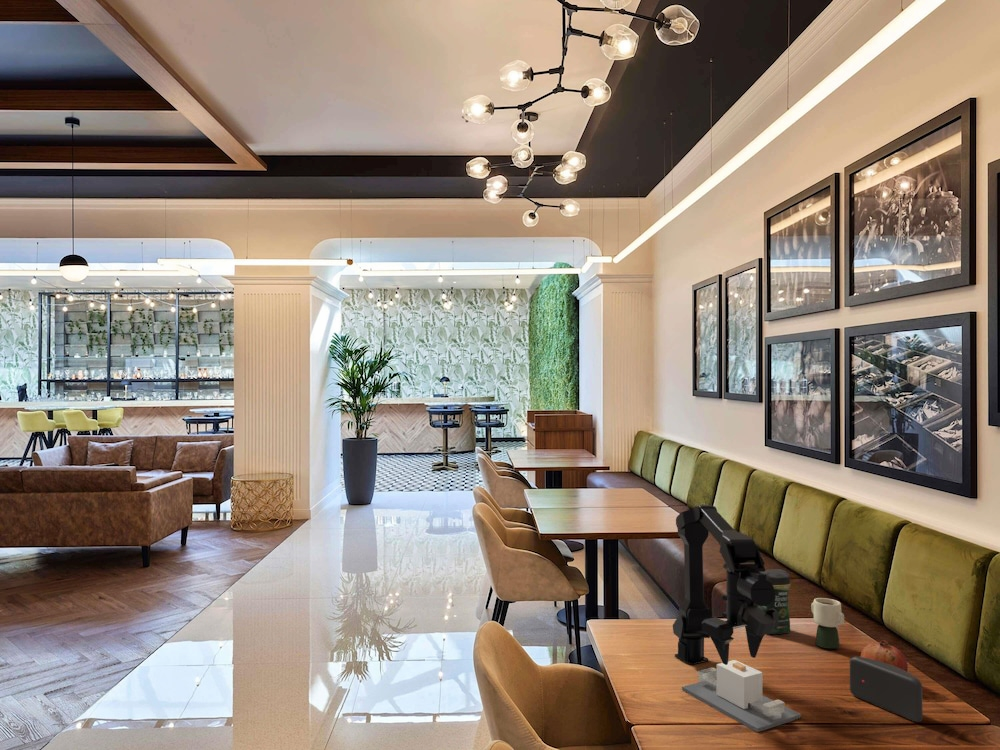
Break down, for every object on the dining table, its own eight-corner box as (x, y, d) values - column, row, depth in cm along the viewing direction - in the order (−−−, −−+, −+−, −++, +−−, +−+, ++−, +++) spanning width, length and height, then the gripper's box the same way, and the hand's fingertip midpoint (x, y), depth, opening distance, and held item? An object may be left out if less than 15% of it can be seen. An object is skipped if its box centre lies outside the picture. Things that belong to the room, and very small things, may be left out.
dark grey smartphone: (931, 721, 142) (930, 677, 142) (919, 726, 140) (919, 682, 140) (859, 691, 156) (859, 652, 156) (848, 695, 154) (847, 655, 154)
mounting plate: (723, 679, 161) (723, 675, 161) (800, 717, 142) (800, 714, 142) (682, 690, 155) (682, 686, 155) (757, 732, 135) (757, 728, 135)
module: (734, 689, 153) (734, 656, 154) (762, 703, 146) (762, 668, 147) (716, 694, 151) (716, 660, 151) (743, 709, 144) (744, 673, 144)
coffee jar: (768, 636, 192) (768, 573, 192) (751, 627, 199) (751, 567, 200) (795, 634, 194) (795, 572, 195) (777, 625, 202) (777, 565, 202)
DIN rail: (712, 680, 159) (712, 666, 159) (785, 717, 140) (785, 702, 141) (697, 683, 157) (697, 670, 157) (769, 722, 138) (769, 707, 138)
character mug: (853, 652, 180) (852, 606, 181) (834, 656, 178) (834, 608, 178) (821, 639, 190) (821, 594, 191) (802, 641, 188) (802, 597, 188)
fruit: (917, 691, 156) (916, 650, 157) (874, 690, 157) (874, 648, 157) (892, 673, 167) (892, 634, 167) (853, 671, 167) (853, 633, 168)
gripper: (738, 608, 138) (738, 682, 137) (796, 596, 147) (796, 666, 146) (700, 594, 148) (699, 663, 147) (756, 584, 156) (756, 649, 156)
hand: (739, 660), depth 149 cm, fingers open, 9 cm apart
